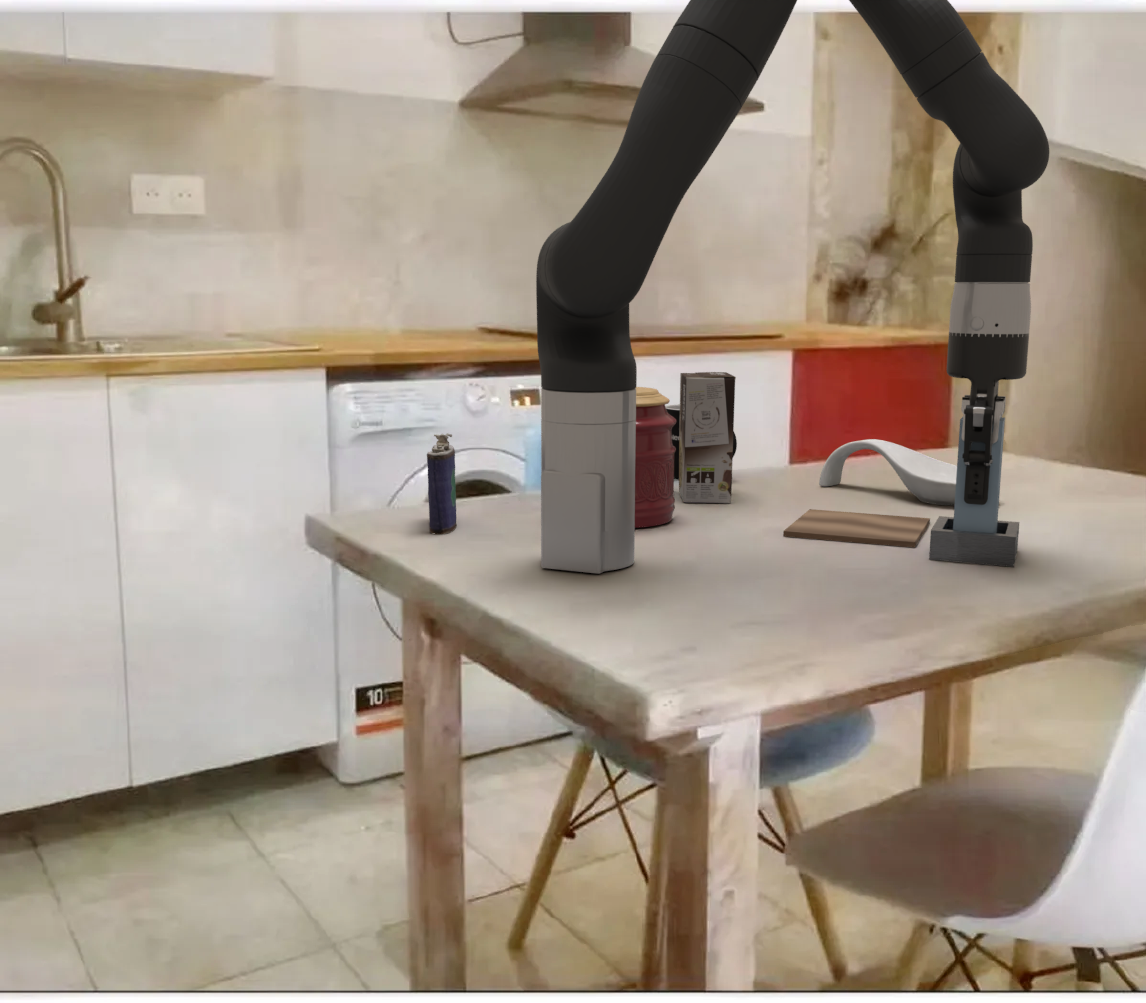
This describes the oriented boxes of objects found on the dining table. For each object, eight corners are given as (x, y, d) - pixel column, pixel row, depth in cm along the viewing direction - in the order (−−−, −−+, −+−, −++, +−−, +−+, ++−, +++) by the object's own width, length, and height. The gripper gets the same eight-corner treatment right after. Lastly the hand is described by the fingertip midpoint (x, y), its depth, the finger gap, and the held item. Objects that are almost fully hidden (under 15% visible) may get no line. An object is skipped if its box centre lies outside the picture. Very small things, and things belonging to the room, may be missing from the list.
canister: (544, 523, 134) (544, 370, 131) (595, 505, 146) (596, 364, 142) (647, 534, 128) (649, 374, 125) (691, 514, 140) (694, 367, 136)
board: (914, 547, 122) (915, 542, 122) (783, 536, 127) (783, 531, 127) (929, 523, 135) (930, 518, 135) (809, 514, 140) (809, 509, 140)
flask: (434, 518, 137) (433, 428, 135) (459, 518, 137) (458, 428, 135) (427, 534, 128) (425, 438, 126) (453, 534, 128) (452, 438, 126)
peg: (992, 560, 116) (1002, 421, 114) (951, 556, 118) (960, 419, 115) (995, 552, 120) (1005, 417, 117) (954, 548, 121) (963, 415, 119)
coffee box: (733, 503, 147) (736, 376, 144) (682, 503, 147) (684, 375, 144) (725, 491, 156) (728, 370, 153) (677, 491, 156) (679, 370, 153)
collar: (1013, 566, 114) (1015, 537, 113) (928, 559, 117) (930, 530, 116) (1017, 550, 121) (1019, 522, 120) (937, 543, 124) (939, 516, 123)
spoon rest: (1010, 502, 150) (1014, 447, 148) (972, 515, 141) (976, 457, 140) (846, 482, 165) (848, 432, 164) (803, 492, 157) (805, 439, 155)
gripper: (1026, 332, 107) (1013, 515, 110) (1031, 328, 120) (1019, 491, 123) (941, 331, 110) (931, 509, 113) (955, 326, 123) (945, 486, 126)
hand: (977, 499), depth 118 cm, fingers closed on peg, 4 cm apart
